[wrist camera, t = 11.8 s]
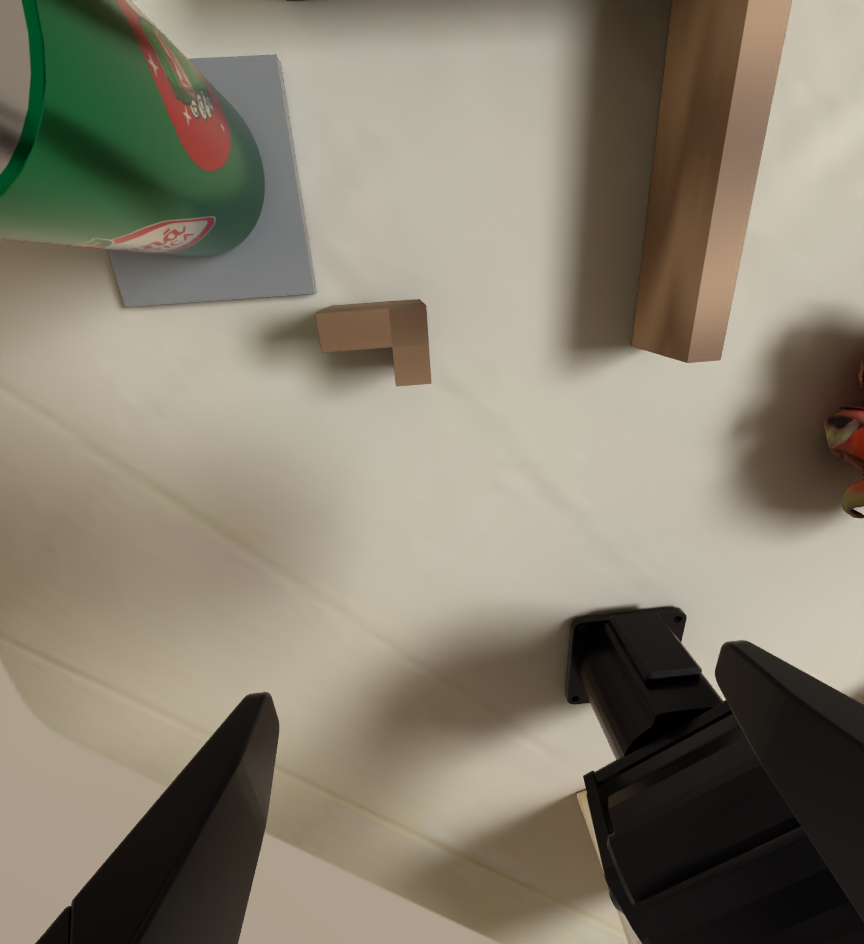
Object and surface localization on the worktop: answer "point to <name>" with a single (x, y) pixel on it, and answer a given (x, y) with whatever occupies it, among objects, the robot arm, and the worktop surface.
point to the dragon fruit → (849, 447)
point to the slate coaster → (278, 228)
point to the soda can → (117, 136)
